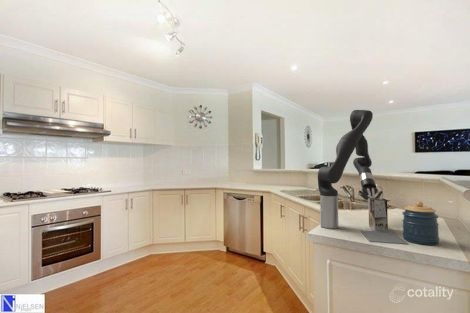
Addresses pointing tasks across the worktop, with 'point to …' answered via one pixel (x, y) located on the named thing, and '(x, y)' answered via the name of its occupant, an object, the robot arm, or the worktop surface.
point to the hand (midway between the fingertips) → (373, 205)
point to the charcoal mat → (383, 237)
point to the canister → (420, 224)
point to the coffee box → (378, 214)
